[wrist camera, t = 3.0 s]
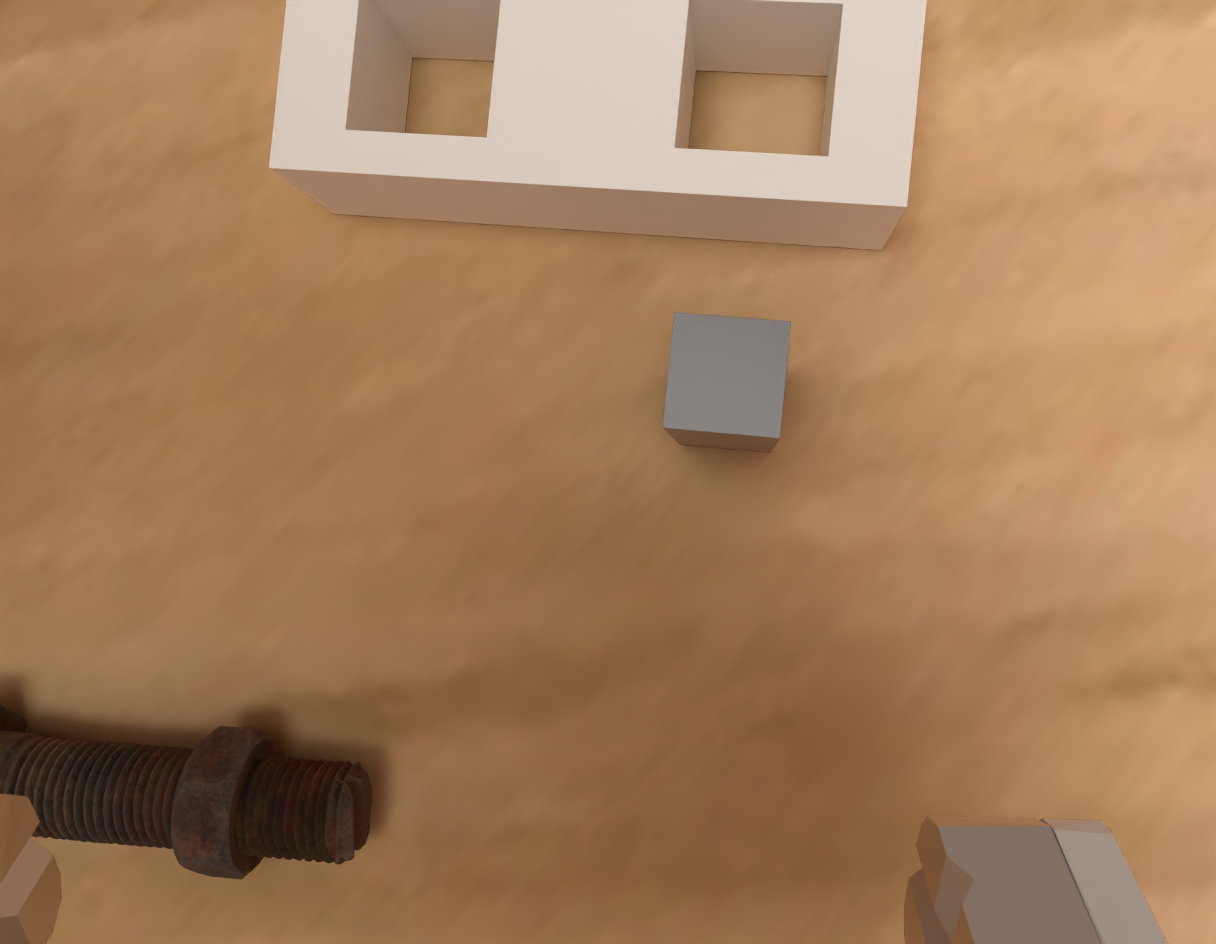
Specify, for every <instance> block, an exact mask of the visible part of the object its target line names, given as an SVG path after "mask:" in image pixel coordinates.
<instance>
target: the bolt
mask: <svg viewBox="0 0 1216 944" xmlns="http://www.w3.org/2000/svg"><path fill="white" fill-rule="evenodd" d="M0 794H12V795H19V796H27V797H28V798H29V800H30V802H31V804H32V806H33V808H34V810H35V813H36V815H37V817H38V819H39V821H40V822H39V824H38V826H37V827H36V829H35V831H34V832H33V834H32V835H31V836H34V837H39V836H41V837H44V838H47V837H51V838H54V839H59V838H60V839H64V840H65V839H69V840H74V841H78V840H79V841H82V842H87V841H89V842H93V843H96V842H98V843H108V844H113V843H117V844H120V845H125V844H126V845H130V846H133V845H136V846H140V847H141V846H147V847H154V846H155V847H158V848H162V847H165V848H168V849H172V848H173V850H174V853H175V856H176V859H177V860H178V862H179V864H180V865H181V866H183V867H184V868H186V869H189V870H191V871H194V872H197V873H200V874H204V875H207V876H212V877H223V878H233V879H243V878H244V877H245V876H246V875H247V874H248V873H250V872H251V871H252V870H253V869H254V868H255V867H256V866H257V865H258V864H259V863H260V861H261V860H262V859H263V857H264V856H265V857H268V858H271V857H273V856H274V857H275V858H278V859H281V858H283V857H284V858H285V859H289V860H291V859H292V858H294V859H296V860H302V859H303V858H304V859H305V861H312V860H313V859H314V860H315V861H316V862H321V861H325V862H326V863H332V862H333V861H334V862H335V863H336V864H342V863H343V862H344V861H349V860H352V859H353V858H354V850H360V849H361V848H362V847H363V846H364V844H365V843H366V840H367V837H368V834H369V829H370V814H371V802H372V789H371V784H370V780H369V776H368V774H367V773H366V772H365V771H364V770H363V768H362V765H361V764H360V762H357V763H355V764H354V765H352V763H351V762H350V761H348V762H346V763H345V764H344V763H343V762H342V761H339V762H337V763H334V762H333V761H327V762H324V761H323V760H321V759H320V760H318V761H314V760H313V759H311V758H310V759H308V760H306V761H305V759H304V758H298V759H297V760H296V759H294V758H293V757H290V758H287V759H286V758H285V757H282V755H281V751H280V749H279V748H278V746H277V744H276V743H275V742H274V741H273V740H272V739H270V738H269V737H268V736H266V735H264V734H262V733H260V732H258V731H256V730H253V729H251V728H239V727H227V726H219V727H218V728H217V729H215V730H214V731H213V732H212V733H210V734H209V735H208V736H207V737H206V738H204V739H203V740H202V741H201V742H200V743H199V744H198V745H197V746H196V747H195V749H192V750H190V749H188V748H183V749H181V748H176V747H174V748H170V747H157V746H154V747H151V746H148V745H146V746H141V745H139V744H138V745H132V744H122V743H109V742H106V743H105V742H102V741H100V742H97V741H85V740H76V739H66V738H62V739H58V738H49V737H43V736H41V735H39V734H34V733H26V720H25V719H23V718H22V717H20V716H18V715H16V714H15V713H13V712H11V711H10V710H8V709H6V708H5V707H3V706H1V705H0Z"/></svg>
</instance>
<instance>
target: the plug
mask: <svg viewBox="0 0 1216 944" xmlns="http://www.w3.org/2000/svg"><path fill="white" fill-rule="evenodd" d="M790 328H791V321H780V320H767V319H754V318H740V317H727V316H714V315H701V314H688V313H675V312H674V320H673V330H672V340H671V350H670V360H669V370H668V381H667V391H666V401H665V411H664V421H663V428H664V429H665V430H666V431H667V432H668V433H669V434H670V435H671V436H672V437H673V438H674V439H675V440H676V441H677V442H678V443H679V444H681V445H692V446H703V447H714V448H724V449H735V450H746V451H757V452H767V453H770V452H771V450H772V449H773V447H774V446H775V444H776V443H777V442H778V440H779V439H780V431H781V421H782V411H783V400H784V390H785V379H786V369H787V359H788V348H789V338H790Z"/></svg>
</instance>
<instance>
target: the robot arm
mask: <svg viewBox="0 0 1216 944" xmlns="http://www.w3.org/2000/svg"><path fill="white" fill-rule="evenodd" d="M39 822H40V821H39V819H38V817H37V815H36V813H35V810H34V808H33V806H32V804H31V802H30V800H29V798H28V797H27V796H19V795H12V794H0V944H47V942H48V940H49V938H50V936H51V934H52V933H53V930H54V926H55V922H56V919H57V915H58V911H59V907H60V903H61V899H62V892H61V874H60V871H59V868H58V866H57V863H56V861H55V858H54V855H53V854H51V853H50V852H49V851H47V850H46V849H45V848H43V847H42V846H41V845H39V844H38V843H37V842H35V841H34V840H33V839H31V838H30V837H31V835H32V834H33V832H34V831H35V829H36V827H37V826H38V824H39ZM916 846H917V850H918V853H919V857H920V861H921V864H922V869H920V870H919V871H918V872H917V873H915V874H914V875H913V876H911V877H910V878H909V880H908V886H907V891H906V897H905V902H904V936H905V943H906V944H1168V942H1167V940H1166V938H1165V936H1164V934H1163V932H1162V930H1161V928H1160V926H1159V924H1158V922H1157V920H1156V918H1155V916H1154V914H1153V912H1152V910H1151V908H1150V906H1149V904H1148V902H1147V900H1146V898H1145V896H1144V894H1143V893H1142V891H1141V889H1140V887H1139V885H1138V883H1137V881H1136V879H1135V877H1134V875H1133V873H1132V871H1131V869H1130V867H1129V865H1128V863H1127V861H1126V859H1125V857H1124V855H1123V853H1122V851H1121V849H1120V847H1119V845H1118V843H1117V841H1116V839H1115V837H1114V835H1113V833H1112V831H1111V829H1110V828H1108V827H1107V826H1106V825H1105V824H1104V823H1103V822H1102V821H1101V820H1075V819H1041V820H1038V819H1037V818H1013V817H937V816H927V818H926V819H925V821H924V822H923V823H922V825H921V827H920V832H919V836H918V840H917V844H916Z"/></svg>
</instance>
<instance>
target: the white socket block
mask: <svg viewBox="0 0 1216 944" xmlns="http://www.w3.org/2000/svg"><path fill="white" fill-rule="evenodd" d="M926 2H927V0H287V2H286V11H285V21H284V30H283V40H282V50H281V59H280V69H279V78H278V88H277V97H276V107H275V116H274V126H273V135H272V145H271V155H270V164H269V168H270V169H271V170H273V171H274V172H276V173H277V174H278V175H280V176H281V177H283V178H284V179H285V180H287V181H288V182H290V183H291V184H292V185H294V186H295V187H297V188H298V189H299V190H301V191H302V192H304V193H305V194H306V195H308V196H309V197H311V198H312V199H314V200H315V201H316V202H318V203H319V204H321V205H322V206H323V207H325V208H326V209H328V210H329V211H330V212H332V213H333V214H344V215H359V216H374V217H389V218H404V219H419V220H434V221H449V222H464V223H479V224H494V225H509V226H524V227H539V228H554V229H569V230H584V231H599V232H615V233H630V234H645V235H660V236H675V237H690V238H705V239H720V240H735V241H750V242H765V243H780V244H795V245H810V246H825V247H840V248H855V249H870V250H882V249H883V247H884V246H885V244H886V242H887V240H888V239H889V237H890V235H891V234H892V232H893V230H894V228H895V227H896V225H897V223H898V221H899V220H900V218H901V216H902V215H903V213H904V211H905V209H906V208H907V201H908V191H909V180H910V170H911V159H912V149H913V138H914V128H915V117H916V107H917V96H918V86H919V75H920V65H921V54H922V44H923V33H924V23H925V12H926ZM412 58H435V59H457V60H479V61H494V70H493V80H492V90H491V100H490V110H489V120H488V130H487V138H485V137H467V136H449V135H431V134H413V133H405V126H406V116H407V106H408V97H409V87H410V77H411V67H412ZM696 70H699V71H721V72H743V73H765V74H787V75H809V76H828V77H827V87H826V98H825V108H824V118H823V129H822V139H821V150H820V156H810V155H792V154H774V153H756V152H738V151H720V150H702V149H688V147H689V137H690V126H691V116H692V106H693V96H694V86H695V76H696Z"/></svg>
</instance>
